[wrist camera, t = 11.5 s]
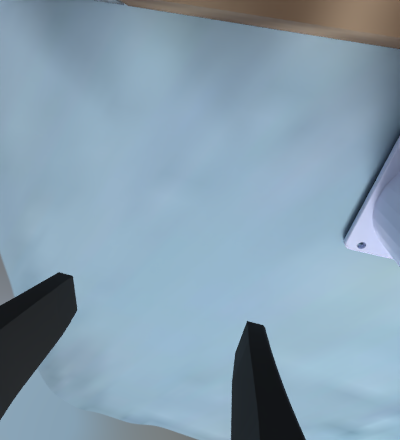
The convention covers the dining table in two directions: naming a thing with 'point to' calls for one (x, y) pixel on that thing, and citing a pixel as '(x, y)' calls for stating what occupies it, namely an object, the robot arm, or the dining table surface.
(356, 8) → the board
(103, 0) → the box
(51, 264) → the dining table surface
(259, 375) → the robot arm
